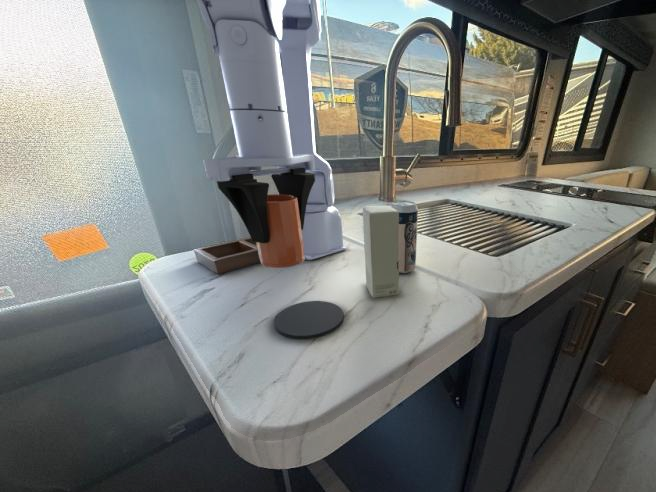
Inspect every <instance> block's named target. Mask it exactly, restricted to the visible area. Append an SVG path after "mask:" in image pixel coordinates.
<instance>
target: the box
mask: <svg viewBox="0 0 656 492" xmlns="http://www.w3.org/2000/svg"><path fill="white" fill-rule="evenodd" d="M362 225H363V227H362V229H363V246H364V265H365V267H364V268H365V284H366V285H365V287H366V288H367V290H368V292H369V294H370V296H371V297H372V298H383V297H390V296H397V295H399V294H400V286H399V285H400V284H399V283H400V273H399V212H398V211H397V210H395V209H394V208H392V207H391V205H371V206H370V205H368V206H367V205H366V206H363V207H362Z"/></svg>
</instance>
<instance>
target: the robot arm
mask: <svg viewBox="0 0 656 492" xmlns="http://www.w3.org/2000/svg"><path fill="white" fill-rule="evenodd" d="M196 2H197V5H198V8H199V11H200V14H201V17H202V19H203V20H204V23H205V26H206V29H207V32H208V37H209V42H210V46H211V47H212V51H213V53H214V55H216V56H218V57H219V58H218V59H219V64H220V68H221V73H222V78H223V82H224V88H225V93H226V99H227V103H228V107H229V112H230V118H231V123H232V126H233V127H232V128H233V133H234V137H235V142H236V147H237V153H238V155H237V154H236V155H235V156H229V157H228V156H225V157H217V158H204V159H202V162H203V165H204V169H205V174H206V177H207V180H208V181H212V182H213V181H215V182H216V184H217V188H218V189H219V190H220V192H221V193H222V194H223V195H224V197H226V198H227V200H228V201H229V202H230V204H231V205H232V206H233V208H234V209H235V210H236V212H237V213H238V216H239V217H240V218H241V220H242V223H243V224H244V226H245V228H246V230H247V232H248V234H249V237H251V238H252V241H254V242H259V243H268V242H269V227H268V220H267V195H269V189H270V184H269V183H268V182H262V181H258V179H257V178H254V177H260V176H267V175H270V176H271V179H272V181H273V183H274V185H275V188H276V190H277V194H286V195H293V196H296V197H297V200H298V207H299V215H300V223H301V230H302V238H303V246H304V253H305V260H307V261H312V260H317V259H319V258H322V257H325V256H329V255H332V254H335V253H338V252H341V251H345V250H347V247H346V246H344V238H343V237H344V236H343V235H344V234H343V224H342V216H341V214H340V212H339V210H338V209H337V208H336V207H335V206H333V205H334V204H335V184H334V183H335V182H334V177H333V170H332V167H331V165H330V163H329V162H328V161H327V160H326V159H324V158H322V156H320V155H319V154H318V153H317V147H316V146H317V145H316V135H315V133H316V132H315V122H314V121H315V120H314V106H313V93H312V80H311V79H312V78H311V55H312V48H313V47H314V46H316V45H317V44H319V43H320V42H321V33H322V23H321V22H322V20H321V19H322V18H321V0H196ZM264 167H266V169H262V168H264ZM267 167H277V168H267Z"/></svg>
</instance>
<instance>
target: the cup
mask: <svg viewBox="0 0 656 492" xmlns="http://www.w3.org/2000/svg"><path fill="white" fill-rule="evenodd" d="M267 220H268V227H269V242H268V243H259V242H256V244H257V249H258V254H259V258H260V264H261V265H262V266H264V267H265V268H266V267H267V268H272V269H273V268H274V269H281V268H290V267H294V266H297V265H300V264H302V263H303V262H305V260H306V259H305V253H304V246H303V238H302V230H301V223H300V215H299V207H298V200H297V197H296V196H293V195H286V194H278V193H273V194H271V193H269V194H268V195H267Z"/></svg>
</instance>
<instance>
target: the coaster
mask: <svg viewBox="0 0 656 492" xmlns="http://www.w3.org/2000/svg"><path fill="white" fill-rule="evenodd" d="M344 321H345V313H344V310H343V309H342V307H340V306H339V305H338V304H335V303H333V302H329V301H324V300H310V301H309V300H307V301H303V302H298V303H295V304H292V305H289V306H287V307H286V308H284V309H282V310H280V311H279V312H278V313H277V314H276V315H275V317H274V320H273V327H274V329H275V331H276V332H277V333H278V334H279V335H281V336H283V337H285V338H288V339H293V340H294V339H295V340H308V339H309V340H310V339H315V338H320V337H323V336H327V335H329V334H330V333H331V334H332V333H333V332H334V331H336V330H337V329H339V327H340V326H341V325H343V322H344Z"/></svg>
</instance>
